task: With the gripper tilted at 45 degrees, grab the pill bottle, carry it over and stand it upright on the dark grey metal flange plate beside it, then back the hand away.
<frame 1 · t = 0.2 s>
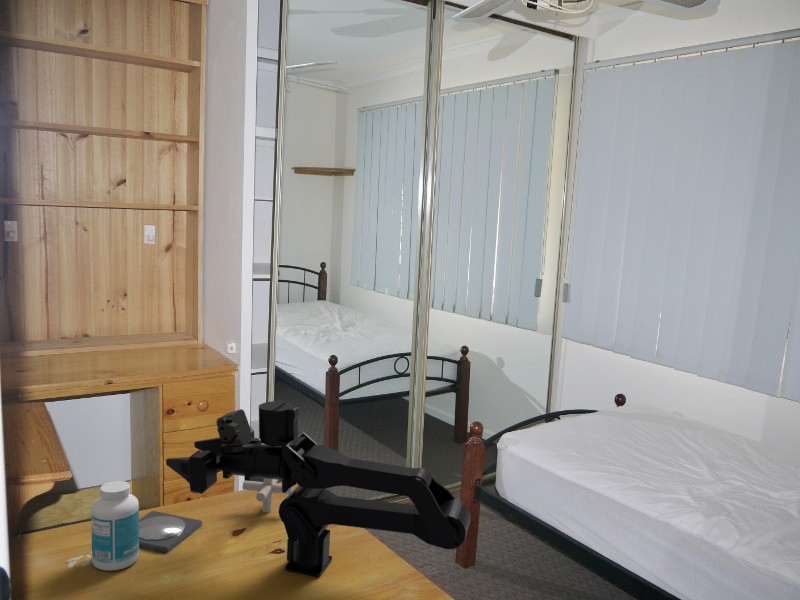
hand: (181, 452, 120), 17 cm above the table, tool horizontal, fingers open, 9 cm apart
pipe connector: (266, 511, 136), on the table
pill bottle: (115, 562, 114), on the table
flange plate: (159, 533, 124), on the table
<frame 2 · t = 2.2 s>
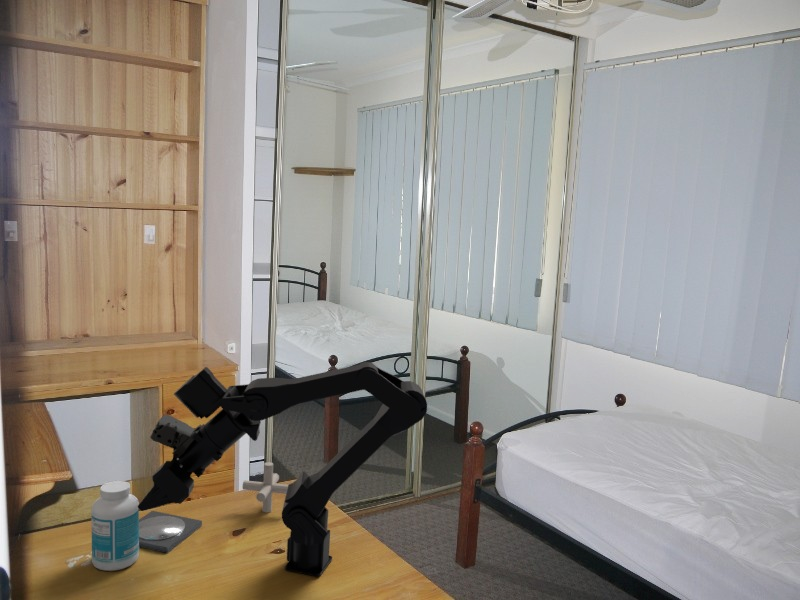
hand: (148, 496, 113), 12 cm above the table, tool tilted 45°, fingers open, 9 cm apart
nothing on the table moved.
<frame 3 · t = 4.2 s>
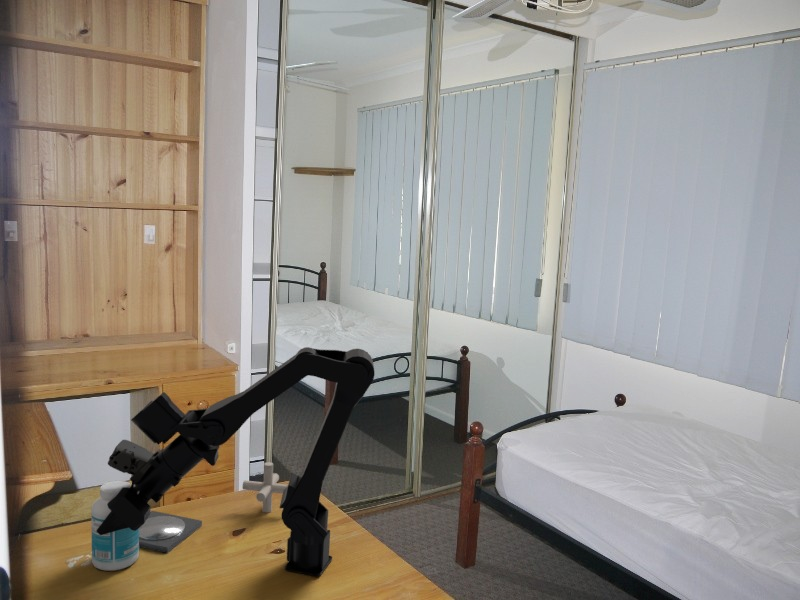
hand: (107, 521, 113), 7 cm above the table, tool tilted 45°, fingers closed on pill bottle, 7 cm apart
pill bottle: (115, 562, 114), on the table, touching gripper
everything else where it was.
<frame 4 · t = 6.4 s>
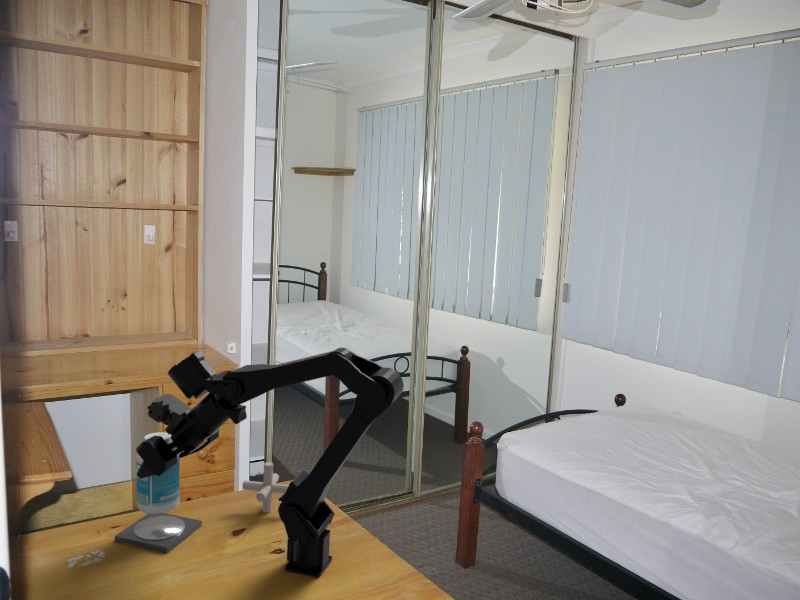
hand: (151, 468, 122), 13 cm above the table, tool tilted 45°, fingers closed on pill bottle, 7 cm apart
pill bottle: (158, 507, 123), point 5 cm above the table, touching gripper
everything else where it was.
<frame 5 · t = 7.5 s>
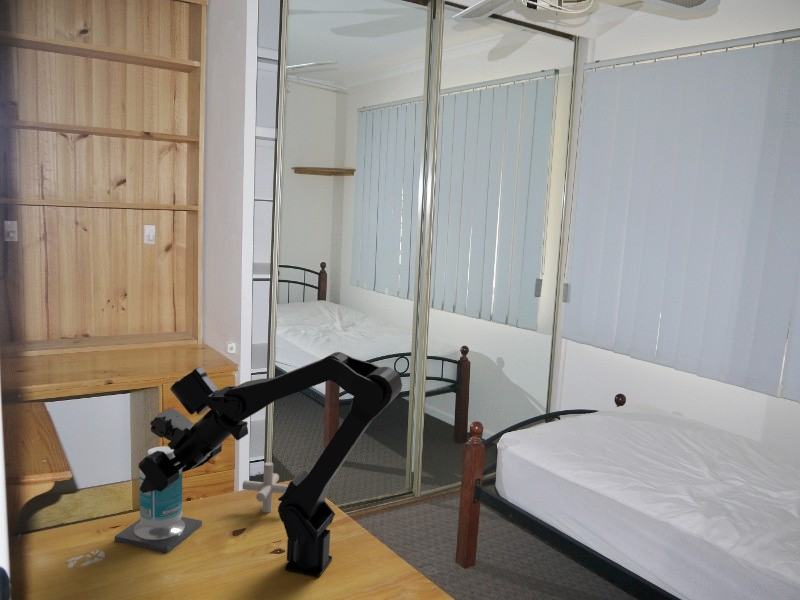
hand: (154, 482, 123), 10 cm above the table, tool tilted 45°, fingers closed on pill bottle, 7 cm apart
pill bottle: (161, 521, 124), point 2 cm above the table, touching gripper
everything else where it was.
when the fingers open (9 cm above the table, at t = 8.7 s): pill bottle stays where it is, resting on flange plate.
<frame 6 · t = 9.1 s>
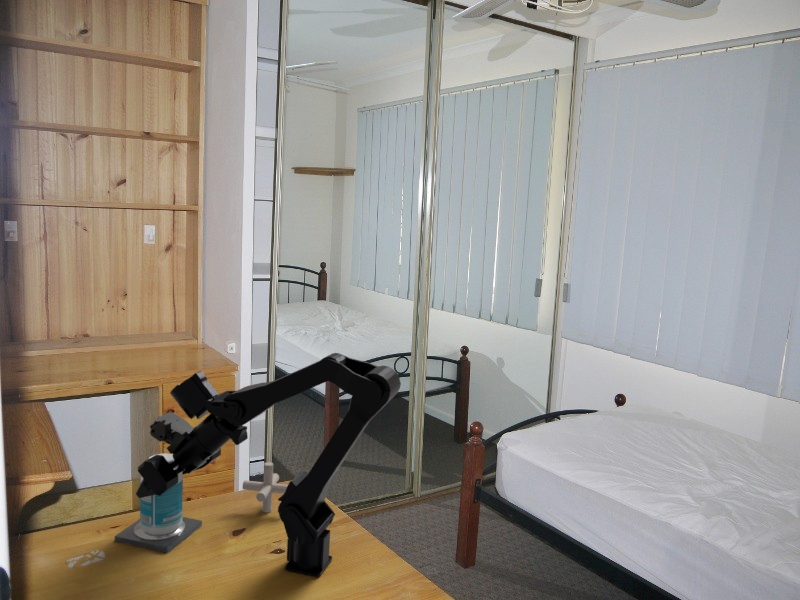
hand: (153, 485, 123), 9 cm above the table, tool tilted 45°, fingers open, 9 cm apart
pill bottle: (161, 528, 124), point 1 cm above the table, touching flange plate
everything else where it was.
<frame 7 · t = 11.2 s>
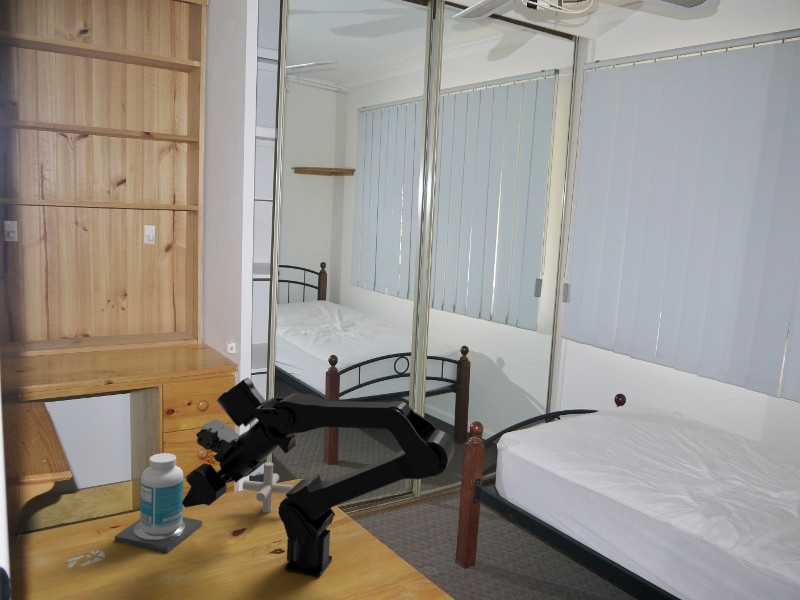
hand: (198, 494, 121), 9 cm above the table, tool tilted 45°, fingers open, 9 cm apart
nothing on the table moved.
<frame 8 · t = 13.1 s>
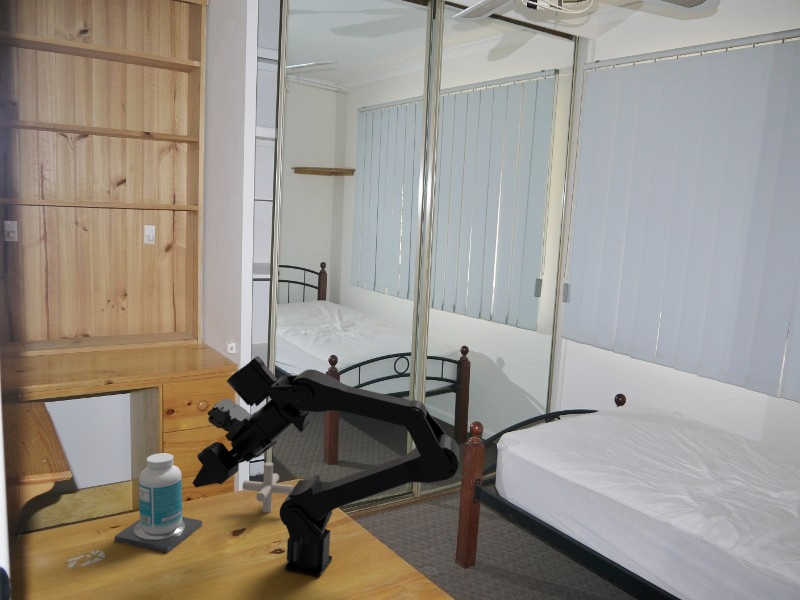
hand: (208, 475, 119), 14 cm above the table, tool tilted 45°, fingers open, 9 cm apart
nothing on the table moved.
at the end: pill bottle inside the target area on the flange plate (0.2 cm from its centre), point 1.1 cm above the flange plate's base; pill bottle tilted 1°; the gripper is holding nothing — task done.
